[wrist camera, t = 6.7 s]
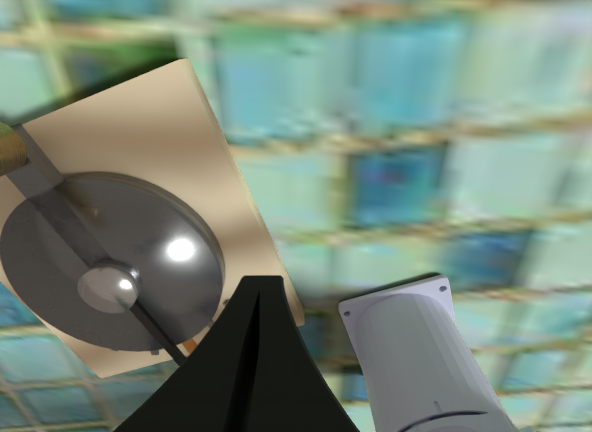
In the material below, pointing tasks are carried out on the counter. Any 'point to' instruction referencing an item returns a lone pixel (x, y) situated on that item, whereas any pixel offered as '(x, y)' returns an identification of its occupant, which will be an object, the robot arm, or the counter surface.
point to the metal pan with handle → (107, 254)
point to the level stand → (158, 181)
